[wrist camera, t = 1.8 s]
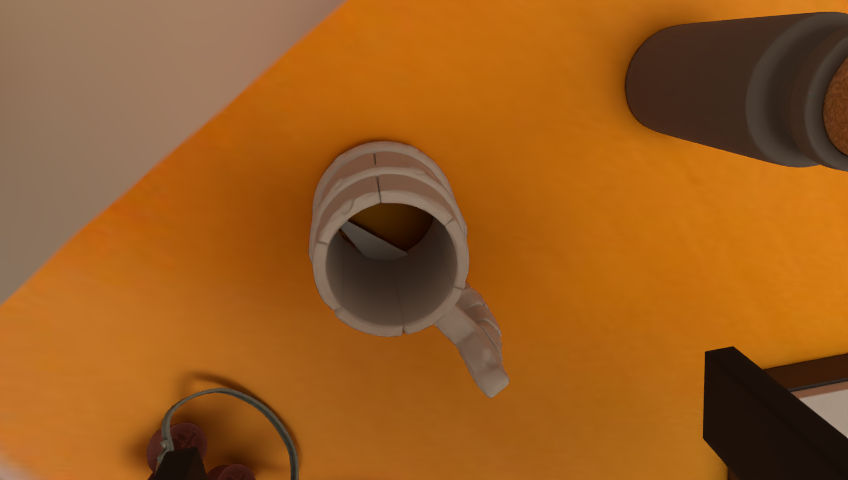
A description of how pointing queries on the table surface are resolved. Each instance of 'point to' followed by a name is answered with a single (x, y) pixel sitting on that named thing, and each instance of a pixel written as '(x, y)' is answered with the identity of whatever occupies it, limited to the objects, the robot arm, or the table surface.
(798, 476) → the robot arm
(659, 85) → the bottle
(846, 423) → the scale
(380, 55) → the table surface
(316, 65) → the table surface
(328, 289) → the mug
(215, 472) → the binoculars
